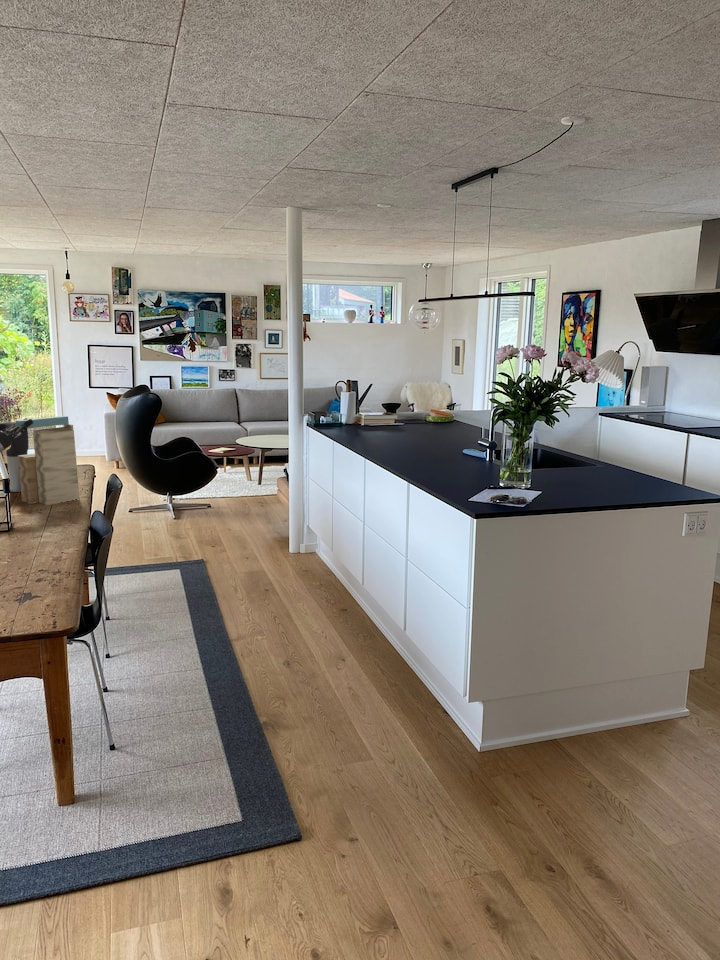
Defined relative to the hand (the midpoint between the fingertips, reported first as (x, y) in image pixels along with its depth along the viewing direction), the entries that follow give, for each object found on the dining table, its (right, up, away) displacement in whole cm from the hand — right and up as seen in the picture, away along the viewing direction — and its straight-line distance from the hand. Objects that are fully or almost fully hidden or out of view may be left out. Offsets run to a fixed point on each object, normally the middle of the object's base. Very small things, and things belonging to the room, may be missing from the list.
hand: (29, 420), depth 320 cm
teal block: (+4, -2, +5) cm, 6 cm away
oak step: (-3, -35, +18) cm, 39 cm away
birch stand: (+7, -36, +15) cm, 39 cm away
